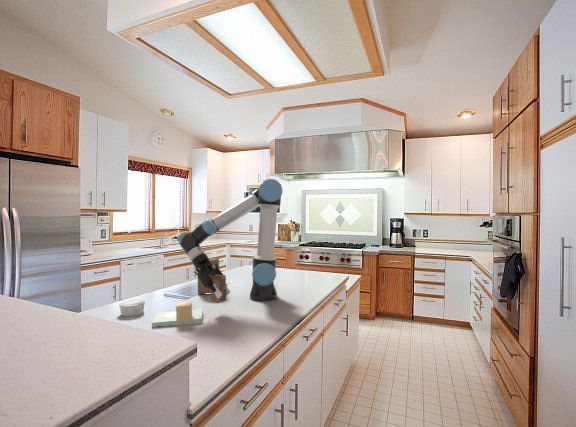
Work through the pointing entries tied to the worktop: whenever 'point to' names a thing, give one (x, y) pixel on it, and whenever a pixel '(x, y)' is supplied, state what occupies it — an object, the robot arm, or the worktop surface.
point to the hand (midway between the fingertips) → (224, 295)
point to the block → (200, 286)
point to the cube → (184, 310)
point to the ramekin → (132, 307)
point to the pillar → (221, 285)
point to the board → (170, 318)
